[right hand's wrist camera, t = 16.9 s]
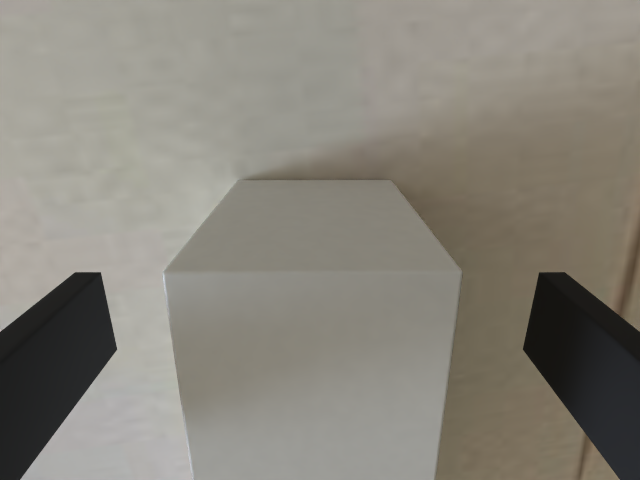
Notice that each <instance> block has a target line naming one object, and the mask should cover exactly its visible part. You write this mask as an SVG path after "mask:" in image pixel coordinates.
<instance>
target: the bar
mask: <svg viewBox="0 0 640 480" xmlns="http://www.w3.org/2000/svg"><path fill="white" fill-rule="evenodd" d="M462 275H463V272H462V270H461V268H460V267H459V266H458V265H457V263H456V262H455V261H454V260H453V258H452V257H451V256H450V254H449V253H448V252H447V251H446V249H445V248H444V247H443V245H442V244H441V243H440V242H439V240H438V239H437V238H436V236H435V235H434V234H433V233H432V231H431V230H430V229H429V228H428V226H427V225H426V224H425V222H424V221H423V220H422V219H421V217H420V216H419V215H418V213H417V212H416V211H415V210H414V208H413V207H412V206H411V204H410V203H409V202H408V201H407V199H406V198H405V197H404V196H403V194H402V193H401V192H400V190H399V189H398V188H397V187H396V185H395V184H394V183H393V181H392V180H238V181H237V182H236V183H235V184H234V185H233V187H232V188H231V189H230V190H229V192H228V193H227V194H226V195H225V196H224V198H223V199H222V200H221V201H220V202H219V204H218V205H217V206H216V207H215V209H214V210H213V211H212V212H211V213H210V215H209V216H208V217H207V218H206V220H205V221H204V222H203V223H202V224H201V226H200V227H199V228H198V229H197V231H196V232H195V233H194V234H193V235H192V237H191V238H190V239H189V240H188V242H187V243H186V244H185V245H184V246H183V248H182V249H181V250H180V251H179V253H178V254H177V255H176V256H175V257H174V259H173V260H172V261H171V262H170V264H169V265H168V266H167V267H166V268H165V270H164V271H163V274H162V276H163V282H164V289H165V296H166V303H167V310H168V316H169V323H170V330H171V337H172V344H173V351H174V357H175V364H176V371H177V378H178V385H179V392H180V398H181V405H182V412H183V419H184V426H185V433H186V439H187V446H188V453H189V460H190V467H191V473H192V480H435V479H436V472H437V464H438V457H439V449H440V442H441V434H442V427H443V419H444V411H445V404H446V396H447V389H448V381H449V374H450V366H451V359H452V351H453V343H454V336H455V328H456V321H457V313H458V306H459V298H460V290H461V283H462Z"/></svg>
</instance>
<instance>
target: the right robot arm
mask: <svg viewBox="0 0 640 480" xmlns="http://www.w3.org/2000/svg"><path fill="white" fill-rule="evenodd" d="M116 350H117V347H116V342H115V337H114V333H113V328H112V323H111V318H110V314H109V309H108V304H107V300H106V295H105V290H104V285H103V281H102V276H101V272H75V273H74V274H73V275H71V276H70V277H69V278H68V279H66V280H65V281H64V282H62V283H61V284H60V285H59V286H57V287H56V288H55V289H54V290H52V291H51V292H50V293H49V294H47V295H46V296H45V297H44V298H42V299H41V300H40V301H39V302H37V303H36V304H35V305H34V306H32V307H31V308H30V309H29V310H27V311H26V312H25V313H24V314H22V315H21V316H20V317H19V318H17V319H16V320H15V321H13V322H12V323H11V324H10V325H8V326H7V327H6V328H5V329H3V330H2V331H1V332H0V480H20V479H21V478H22V476H23V475H24V473H25V472H26V471H27V469H28V468H29V467H30V465H31V464H32V463H33V461H34V460H35V459H36V457H37V456H38V455H39V453H40V452H41V451H42V449H43V448H44V447H45V445H46V444H47V443H48V441H49V440H50V439H51V437H52V436H53V435H54V433H55V432H56V431H57V429H58V428H59V427H60V425H61V424H62V423H63V421H64V420H65V419H66V417H67V416H68V415H69V413H70V412H71V411H72V409H73V408H74V406H75V405H76V404H77V402H78V401H79V400H80V398H81V397H82V396H83V394H84V393H85V392H86V390H87V389H88V388H89V386H90V385H91V384H92V382H93V381H94V380H95V378H96V377H97V376H98V374H99V373H100V372H101V370H102V369H103V368H104V366H105V365H106V364H107V362H108V361H109V360H110V358H111V357H112V356H113V354H114V353H115V352H116ZM523 350H524V352H525V353H526V354H527V356H528V357H529V358H530V360H531V361H532V362H533V364H534V365H535V366H536V368H537V369H538V370H539V372H540V373H541V374H542V376H543V377H544V378H545V380H546V381H547V382H548V384H549V385H550V386H551V388H552V389H553V390H554V392H555V393H556V394H557V396H558V397H559V398H560V400H561V401H562V402H563V404H564V405H565V406H566V408H567V409H568V411H569V412H570V413H571V415H572V416H573V417H574V419H575V420H576V421H577V423H578V424H579V425H580V427H581V428H582V429H583V431H584V432H585V433H586V435H587V436H588V437H589V439H590V440H591V441H592V443H593V444H594V445H595V447H596V448H597V449H598V451H599V452H600V453H601V455H602V456H603V457H604V459H605V460H606V461H607V463H608V464H609V465H610V467H611V468H612V469H613V471H614V472H615V473H616V475H617V476H618V478H619V479H620V480H640V332H639V331H638V330H637V329H635V328H634V327H633V326H632V325H630V324H629V323H628V322H627V321H625V320H624V319H623V318H621V317H620V316H619V315H618V314H616V313H615V312H614V311H613V310H611V309H610V308H609V307H608V306H606V305H605V304H604V303H603V302H601V301H600V300H599V299H598V298H596V297H595V296H594V295H593V294H591V293H590V292H589V291H588V290H586V289H585V288H584V287H583V286H581V285H580V284H579V283H578V282H576V281H575V280H574V279H572V278H571V277H570V276H569V275H567V274H566V273H565V272H539V276H538V281H537V285H536V290H535V295H534V300H533V304H532V309H531V314H530V318H529V323H528V328H527V333H526V337H525V342H524V347H523Z"/></svg>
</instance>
